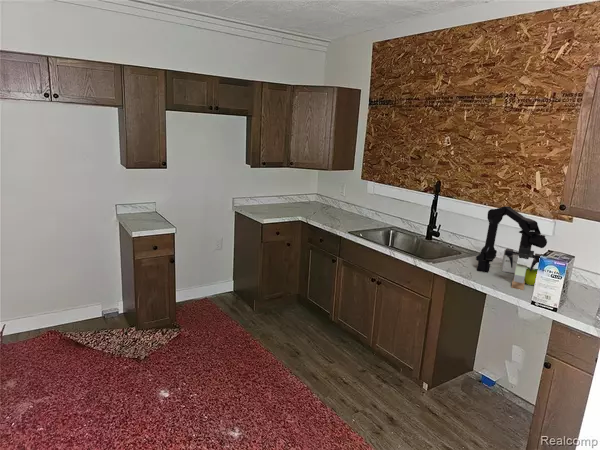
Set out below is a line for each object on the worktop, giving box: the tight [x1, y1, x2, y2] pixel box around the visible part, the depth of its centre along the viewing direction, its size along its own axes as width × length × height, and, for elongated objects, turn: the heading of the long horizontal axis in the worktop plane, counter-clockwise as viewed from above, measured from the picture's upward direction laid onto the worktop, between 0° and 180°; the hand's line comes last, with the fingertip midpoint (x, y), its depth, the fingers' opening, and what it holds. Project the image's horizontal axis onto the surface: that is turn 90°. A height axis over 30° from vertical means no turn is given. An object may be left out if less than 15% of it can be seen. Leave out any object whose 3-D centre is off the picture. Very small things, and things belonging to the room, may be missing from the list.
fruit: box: [524, 267, 539, 286], centre depth 235 cm, size 9×9×10 cm
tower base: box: [511, 277, 526, 291], centre depth 230 cm, size 6×6×4 cm
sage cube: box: [514, 263, 528, 277], centre depth 228 cm, size 5×5×5 cm
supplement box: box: [500, 249, 519, 274], centre depth 257 cm, size 7×7×13 cm
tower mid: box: [513, 274, 525, 283], centre depth 229 cm, size 5×5×4 cm
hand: (520, 269), depth 228 cm, fingers open, 9 cm apart
